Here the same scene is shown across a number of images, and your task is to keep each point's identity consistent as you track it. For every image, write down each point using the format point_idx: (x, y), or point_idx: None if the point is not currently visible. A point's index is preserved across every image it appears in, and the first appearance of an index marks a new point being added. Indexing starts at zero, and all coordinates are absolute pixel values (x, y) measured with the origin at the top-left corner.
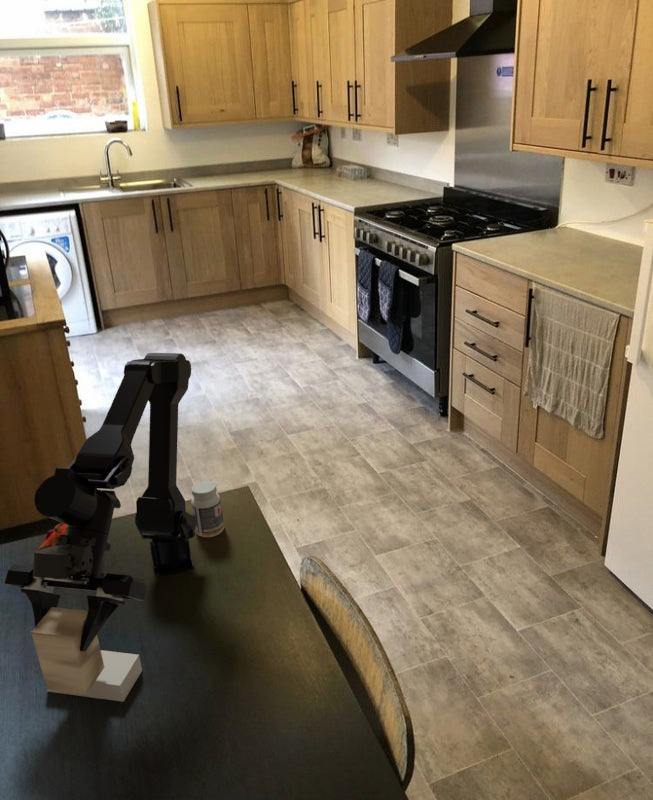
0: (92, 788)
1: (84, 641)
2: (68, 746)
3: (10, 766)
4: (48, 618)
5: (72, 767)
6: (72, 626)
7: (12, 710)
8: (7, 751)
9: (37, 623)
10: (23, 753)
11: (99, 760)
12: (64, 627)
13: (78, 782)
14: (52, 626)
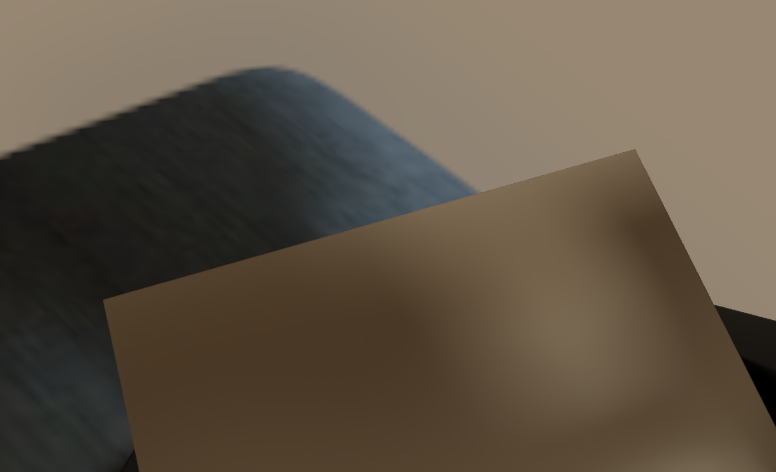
0: (14, 168)
1: (132, 462)
2: (233, 253)
3: (356, 117)
4: (685, 403)
5: (149, 197)
6: (261, 454)
7: None
8: (416, 150)
9: (738, 328)
10: (360, 166)
11: (69, 260)
12: (352, 382)
13: (83, 165)
14: (510, 321)
